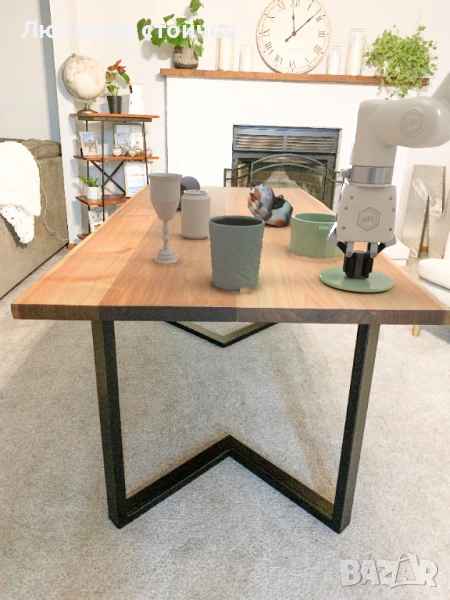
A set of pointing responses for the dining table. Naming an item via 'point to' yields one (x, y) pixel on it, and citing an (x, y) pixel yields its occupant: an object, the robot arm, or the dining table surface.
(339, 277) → the lid
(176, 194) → the chalice
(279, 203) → the lucky cat figurine
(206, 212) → the can
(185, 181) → the bluetooth speaker
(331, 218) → the pot
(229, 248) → the green ceramic cup
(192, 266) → the dining table surface
